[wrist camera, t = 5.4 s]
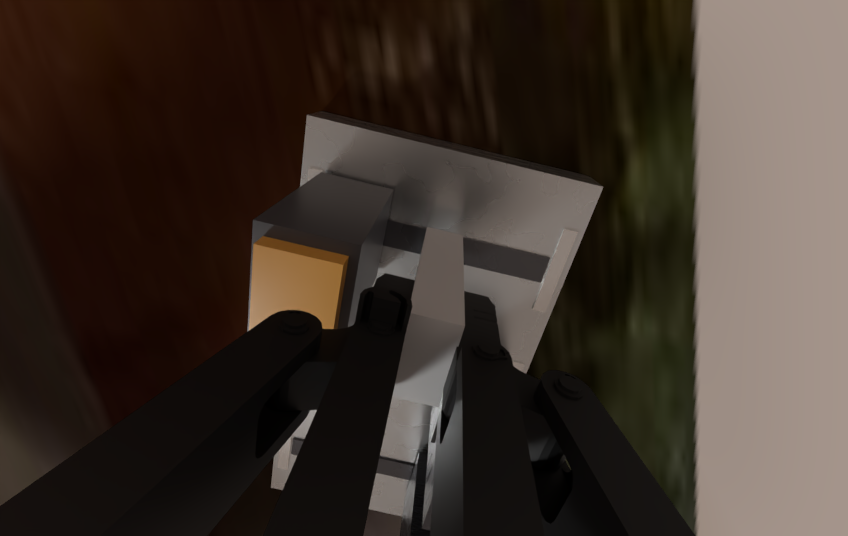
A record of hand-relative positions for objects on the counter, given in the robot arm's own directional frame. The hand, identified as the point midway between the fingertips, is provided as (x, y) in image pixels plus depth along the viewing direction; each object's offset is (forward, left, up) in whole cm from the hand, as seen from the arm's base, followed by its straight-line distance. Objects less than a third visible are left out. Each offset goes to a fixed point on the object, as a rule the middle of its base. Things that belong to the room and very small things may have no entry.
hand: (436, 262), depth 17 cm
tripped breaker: (-4, 0, -1) cm, 4 cm away
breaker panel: (0, -7, -4) cm, 8 cm away
